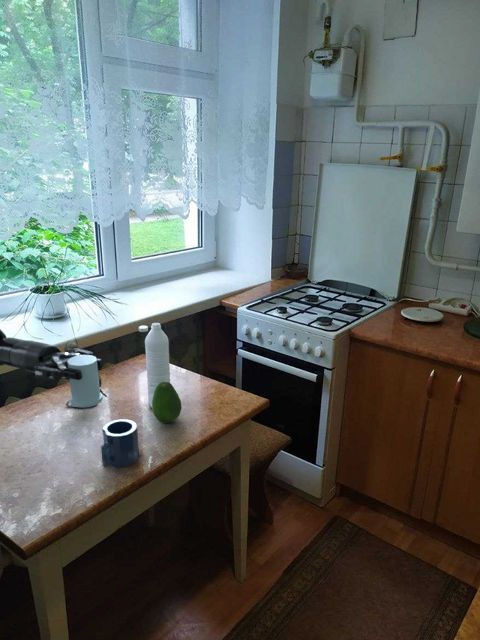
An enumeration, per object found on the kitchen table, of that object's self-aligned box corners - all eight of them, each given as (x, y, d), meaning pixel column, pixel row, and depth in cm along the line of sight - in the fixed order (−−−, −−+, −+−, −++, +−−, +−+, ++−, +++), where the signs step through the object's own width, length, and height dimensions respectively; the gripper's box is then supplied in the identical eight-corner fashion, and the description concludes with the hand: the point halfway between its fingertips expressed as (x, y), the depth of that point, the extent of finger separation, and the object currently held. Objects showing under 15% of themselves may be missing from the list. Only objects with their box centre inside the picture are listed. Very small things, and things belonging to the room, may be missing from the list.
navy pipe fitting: (117, 446, 124) (115, 416, 121) (145, 453, 122) (143, 422, 119) (90, 470, 114) (86, 438, 111) (119, 478, 112) (116, 446, 109)
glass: (100, 406, 116) (97, 365, 112) (67, 408, 114) (62, 367, 110) (104, 392, 122) (100, 353, 118) (72, 393, 121) (68, 354, 117)
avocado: (147, 421, 136) (145, 381, 132) (171, 411, 141) (169, 373, 137) (164, 432, 131) (162, 391, 126) (188, 422, 136) (187, 383, 132)
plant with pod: (98, 411, 140) (91, 346, 133) (61, 407, 142) (53, 342, 134) (111, 399, 147) (106, 336, 140) (76, 394, 149) (69, 332, 142)
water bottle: (161, 396, 150) (157, 318, 140) (175, 403, 146) (172, 323, 137) (137, 406, 143) (132, 325, 134) (151, 414, 140) (147, 331, 130)
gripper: (8, 352, 112) (67, 366, 107) (55, 333, 125) (110, 344, 119) (13, 382, 115) (71, 397, 109) (59, 361, 127) (112, 373, 122)
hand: (91, 369), depth 114 cm, fingers closed on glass, 6 cm apart
